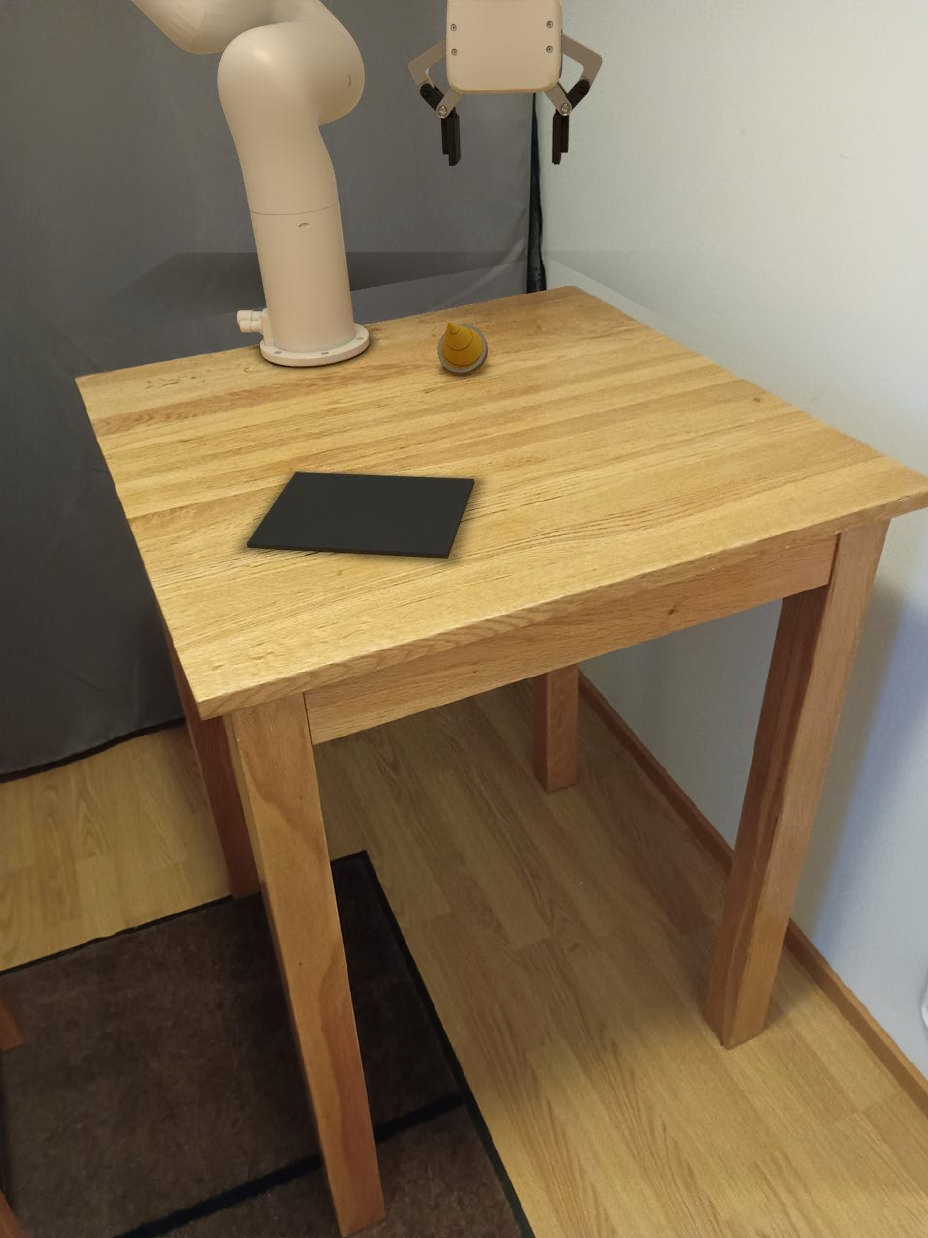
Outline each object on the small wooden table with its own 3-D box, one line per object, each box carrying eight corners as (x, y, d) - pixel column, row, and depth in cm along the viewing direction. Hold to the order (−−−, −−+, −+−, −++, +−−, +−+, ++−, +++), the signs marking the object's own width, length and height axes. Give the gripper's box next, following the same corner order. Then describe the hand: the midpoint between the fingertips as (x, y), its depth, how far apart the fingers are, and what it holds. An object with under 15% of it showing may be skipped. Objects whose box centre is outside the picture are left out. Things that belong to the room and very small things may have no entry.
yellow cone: (501, 369, 101) (484, 330, 91) (459, 394, 101) (437, 358, 92) (478, 329, 102) (459, 287, 92) (436, 355, 102) (413, 315, 93)
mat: (247, 547, 72) (246, 543, 72) (296, 475, 82) (295, 471, 82) (447, 558, 70) (447, 553, 69) (474, 482, 79) (474, 478, 79)
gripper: (609, -69, 79) (599, 153, 89) (409, -60, 81) (422, 155, 91) (607, -68, 73) (597, 169, 83) (392, -58, 75) (407, 172, 85)
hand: (505, 162), depth 87 cm, fingers open, 9 cm apart
